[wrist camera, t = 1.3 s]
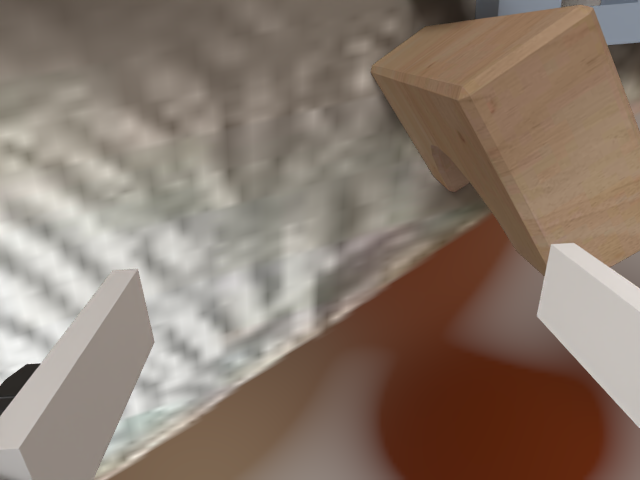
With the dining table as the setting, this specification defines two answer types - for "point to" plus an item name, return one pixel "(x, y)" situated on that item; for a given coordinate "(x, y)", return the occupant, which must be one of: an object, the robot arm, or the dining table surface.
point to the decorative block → (526, 126)
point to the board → (613, 13)
